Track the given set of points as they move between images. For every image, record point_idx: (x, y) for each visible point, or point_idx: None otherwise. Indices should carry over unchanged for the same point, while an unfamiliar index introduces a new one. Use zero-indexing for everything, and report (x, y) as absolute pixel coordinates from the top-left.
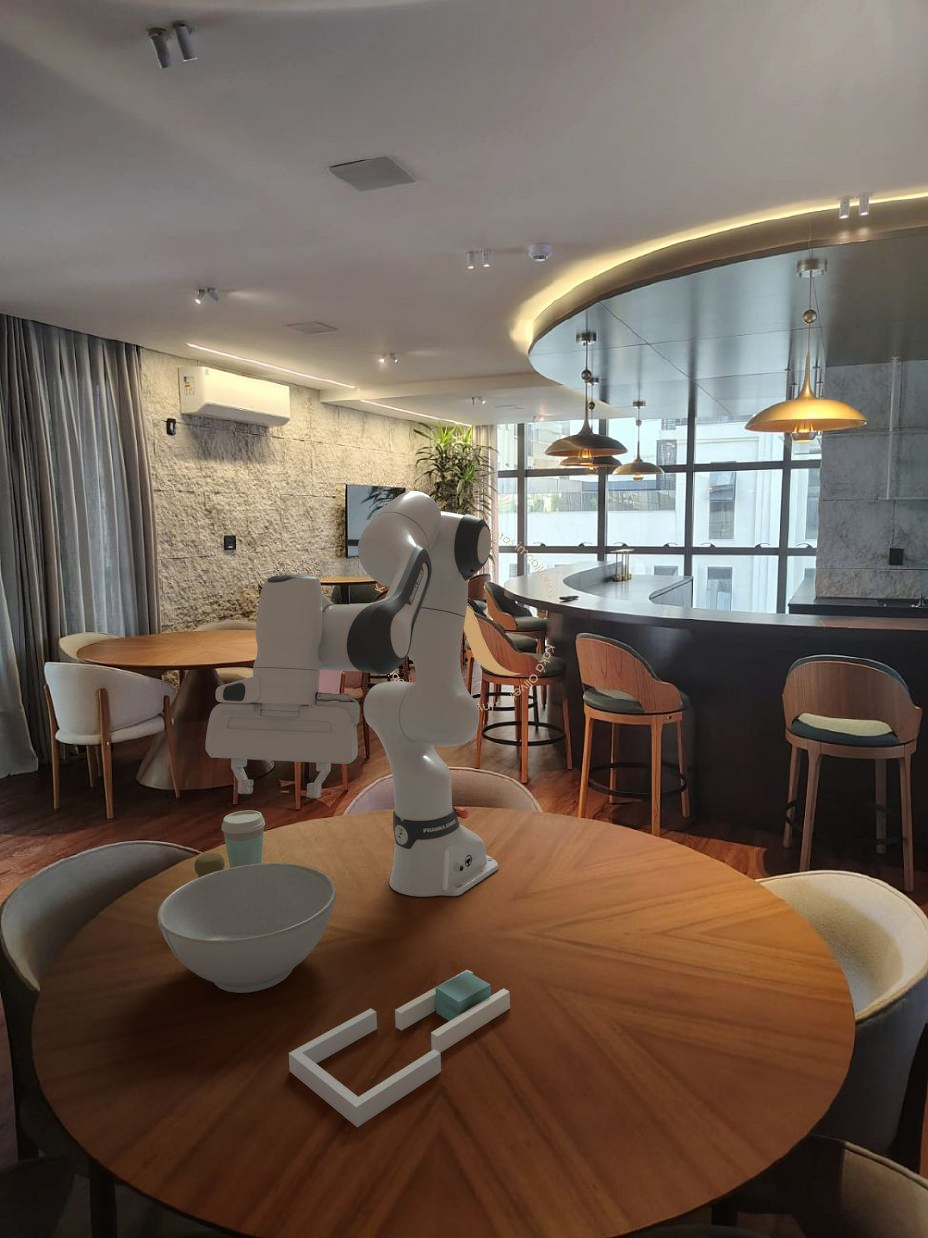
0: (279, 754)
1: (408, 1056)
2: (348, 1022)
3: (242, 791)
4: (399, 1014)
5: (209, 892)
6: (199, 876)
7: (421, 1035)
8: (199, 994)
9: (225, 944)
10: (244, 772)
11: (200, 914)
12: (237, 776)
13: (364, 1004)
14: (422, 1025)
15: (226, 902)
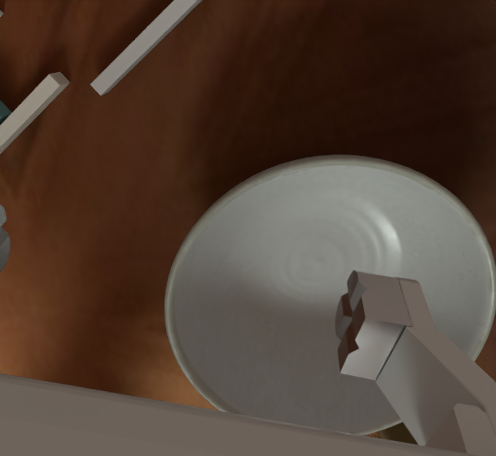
0: (69, 436)
1: (38, 3)
2: (130, 58)
3: (391, 279)
4: (52, 76)
5: None
6: None
7: (26, 56)
8: None
9: (352, 155)
10: (408, 420)
11: None
12: (451, 352)
13: (128, 148)
14: (29, 83)
15: None
